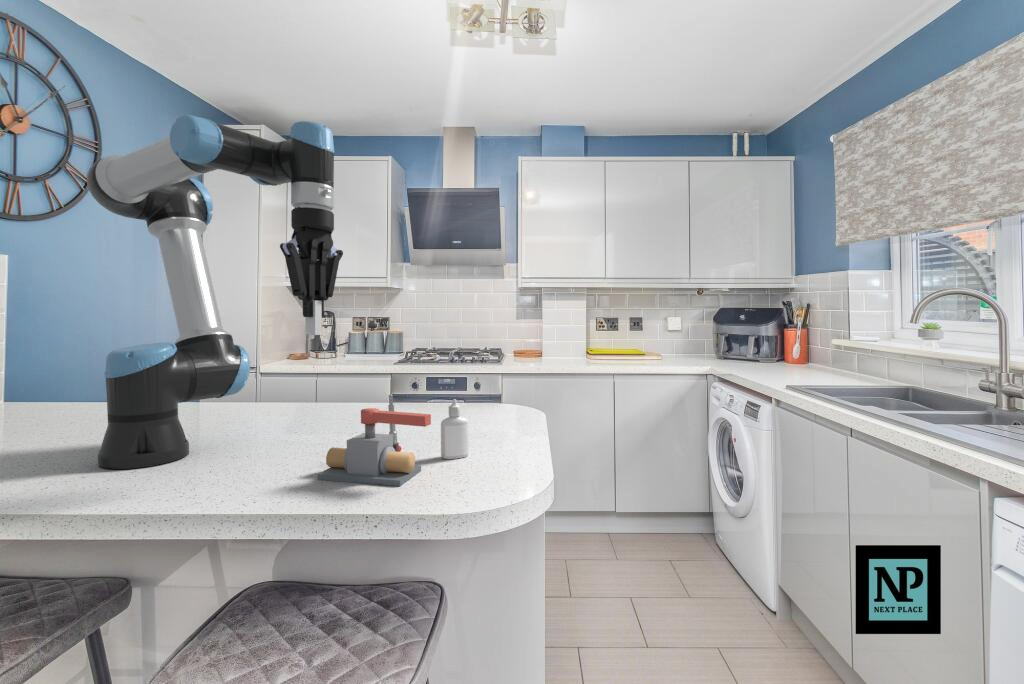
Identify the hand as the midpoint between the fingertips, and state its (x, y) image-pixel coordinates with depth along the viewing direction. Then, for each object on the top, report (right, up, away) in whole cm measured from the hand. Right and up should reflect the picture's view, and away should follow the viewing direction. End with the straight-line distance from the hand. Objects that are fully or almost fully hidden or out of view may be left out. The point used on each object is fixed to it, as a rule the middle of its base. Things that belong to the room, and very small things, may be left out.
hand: (313, 334), depth 98 cm
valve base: (+12, -26, -4) cm, 29 cm away
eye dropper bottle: (+26, -26, +8) cm, 37 cm away
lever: (+17, -16, -6) cm, 24 cm away
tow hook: (+10, -26, +9) cm, 29 cm away
